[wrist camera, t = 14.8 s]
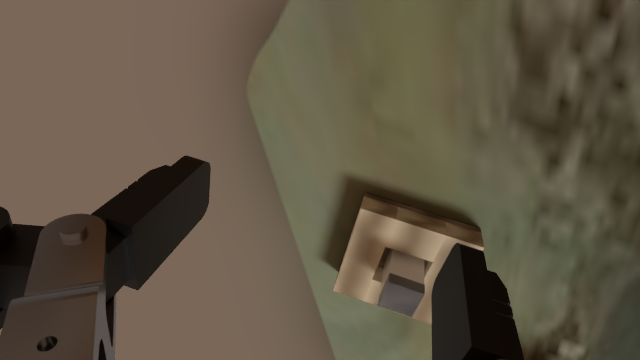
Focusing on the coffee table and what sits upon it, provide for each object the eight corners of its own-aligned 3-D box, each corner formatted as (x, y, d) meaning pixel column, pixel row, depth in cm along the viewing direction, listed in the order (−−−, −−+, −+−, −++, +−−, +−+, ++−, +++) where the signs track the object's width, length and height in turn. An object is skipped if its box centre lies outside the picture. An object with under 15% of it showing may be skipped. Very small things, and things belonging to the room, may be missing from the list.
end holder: (480, 228, 49) (484, 247, 46) (436, 305, 58) (436, 326, 54) (365, 192, 51) (360, 208, 48) (338, 272, 59) (333, 290, 56)
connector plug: (424, 251, 52) (424, 294, 45) (413, 274, 55) (411, 317, 48) (393, 241, 53) (388, 281, 46) (383, 263, 55) (377, 305, 48)
